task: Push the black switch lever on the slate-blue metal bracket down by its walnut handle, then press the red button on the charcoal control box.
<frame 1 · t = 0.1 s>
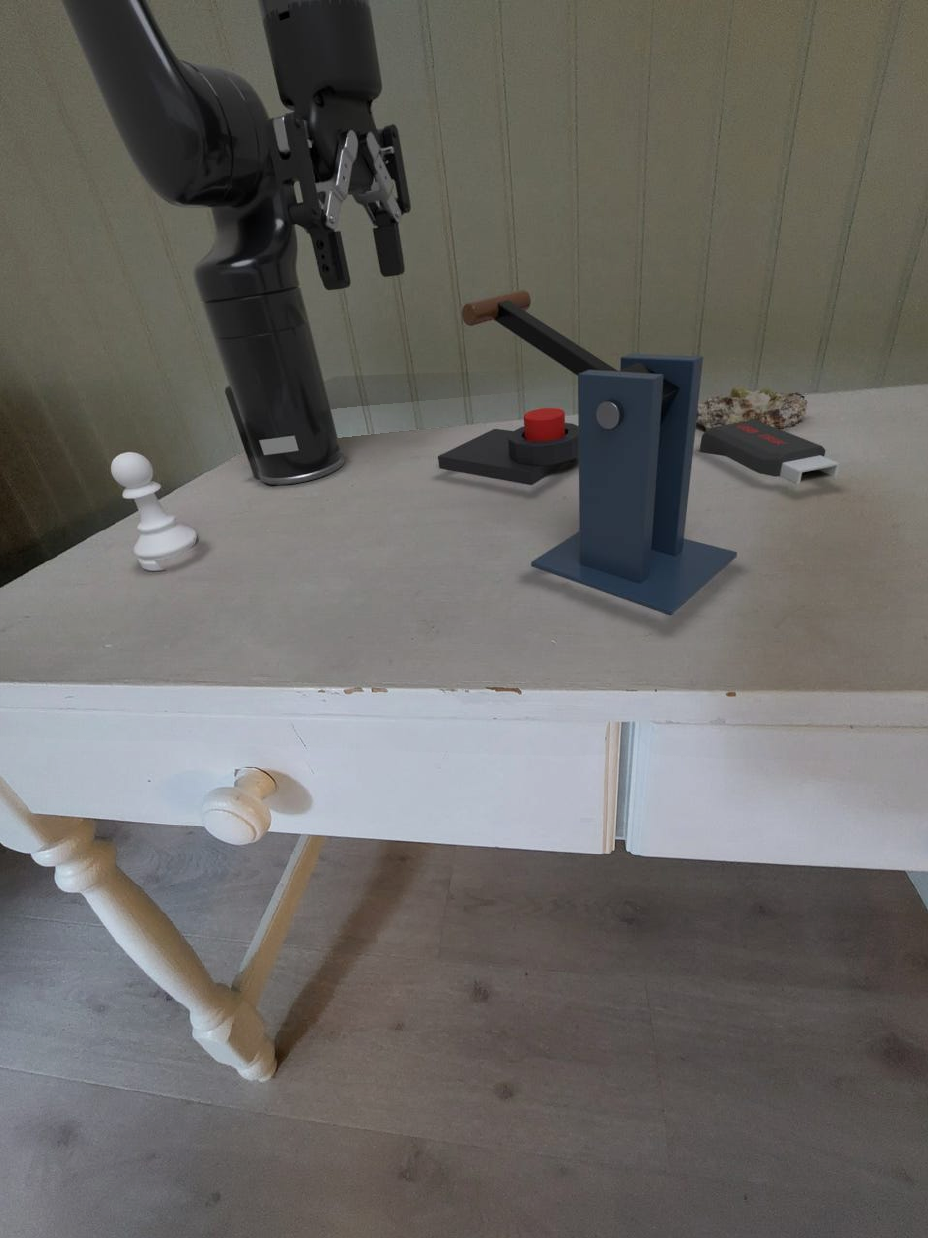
hand: (367, 281, 48), 17 cm above the table, tool pointing down, fingers open, 8 cm apart
mineral rock: (748, 426, 58), on the table
switch lever: (569, 354, 33), point 13 cm above the table, hinge at 25.0°
control box: (512, 469, 55), on the table
usb drive: (764, 470, 48), on the table
chess pawn: (173, 559, 48), on the table
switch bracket: (630, 574, 37), on the table
red button: (544, 425, 50), point 5 cm above the table, slide at 0.2 cm
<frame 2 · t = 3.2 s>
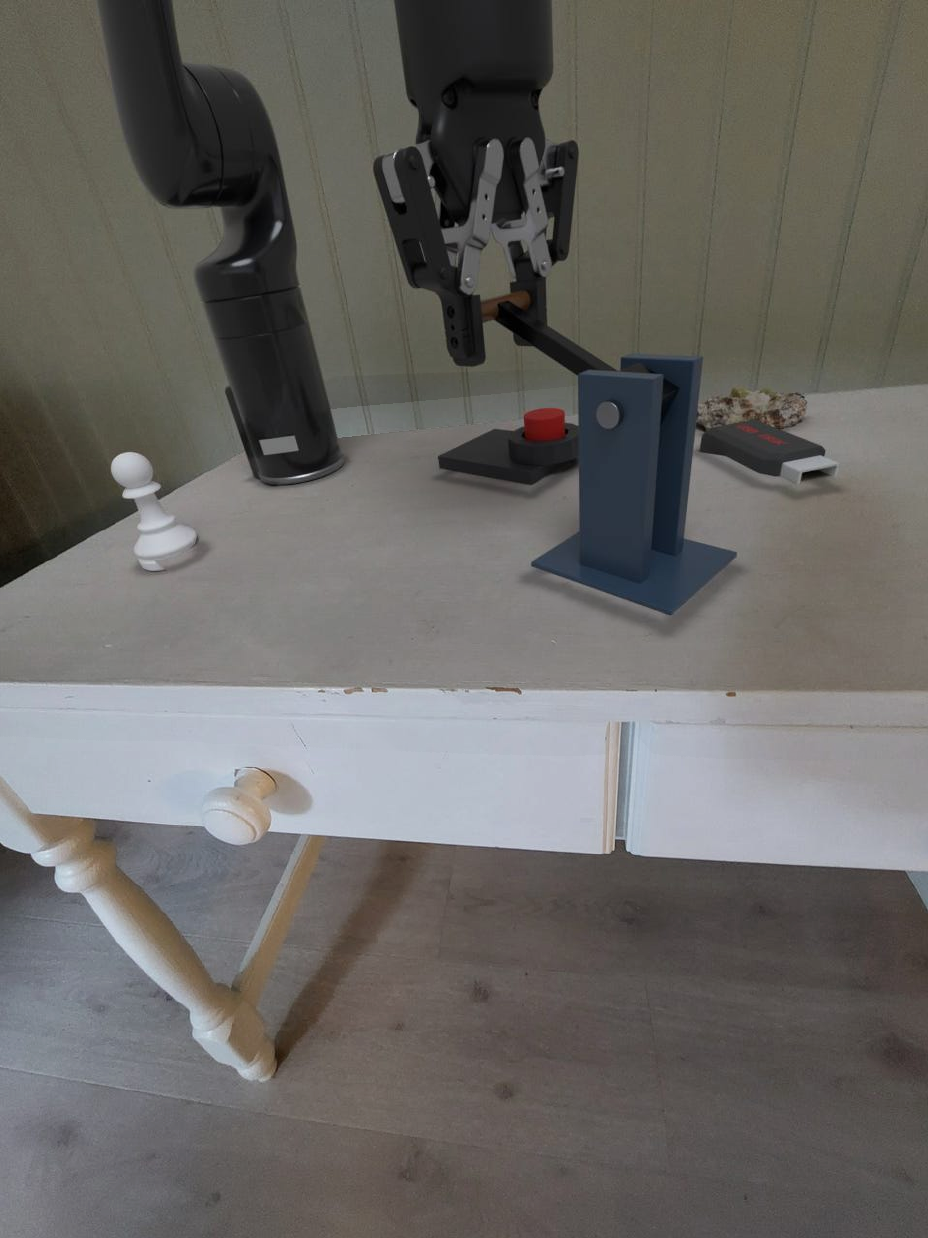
hand: (500, 353, 36), 13 cm above the table, tool pointing down, fingers closed on switch lever, 5 cm apart
switch lever: (569, 354, 33), point 13 cm above the table, hinge at 24.9°, touching gripper
everything else where it was.
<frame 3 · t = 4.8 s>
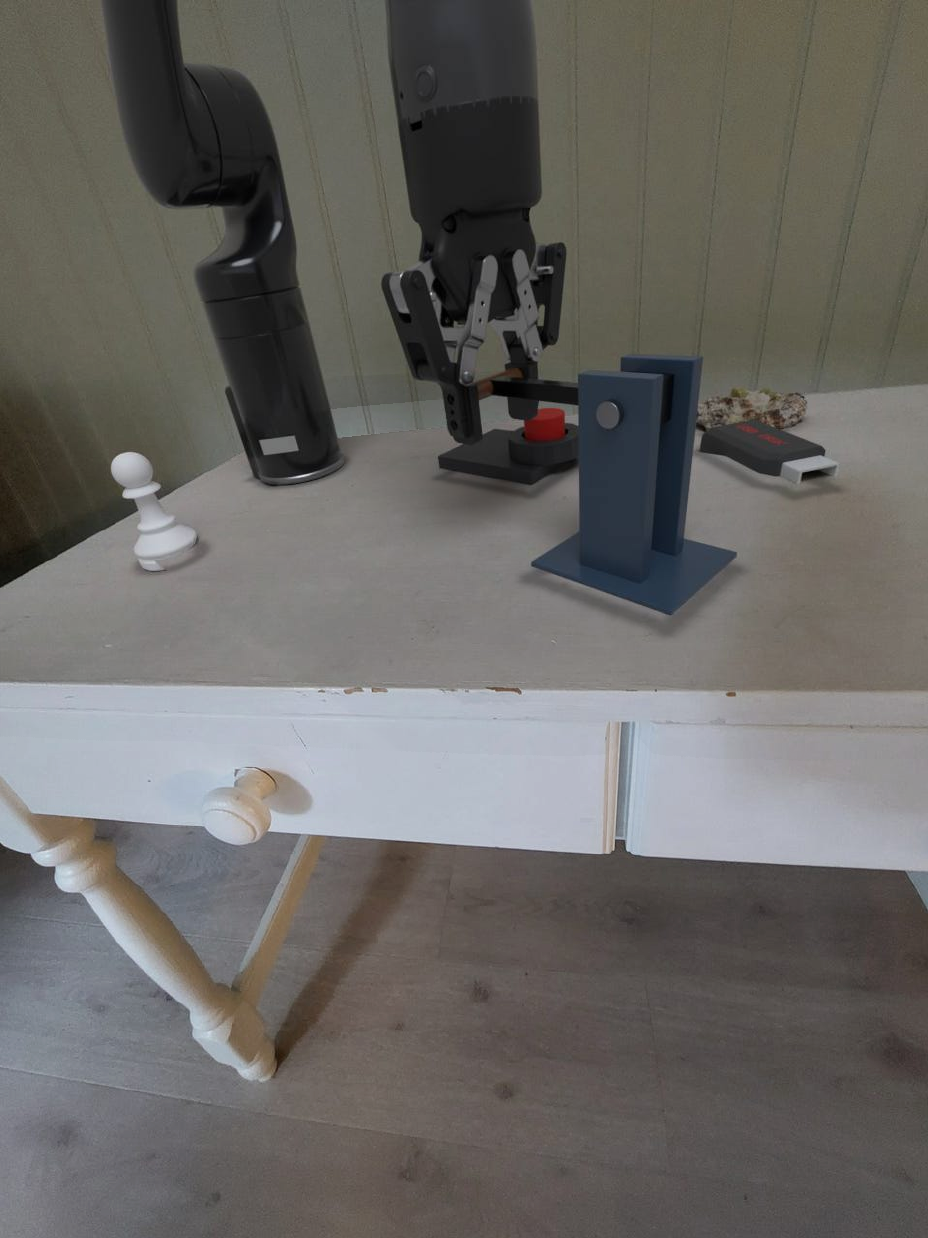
hand: (496, 428, 39), 8 cm above the table, tool pointing down, fingers closed on switch lever, 5 cm apart
switch lever: (563, 392, 34), point 11 cm above the table, hinge at 0.2°, touching gripper
everything else where it was.
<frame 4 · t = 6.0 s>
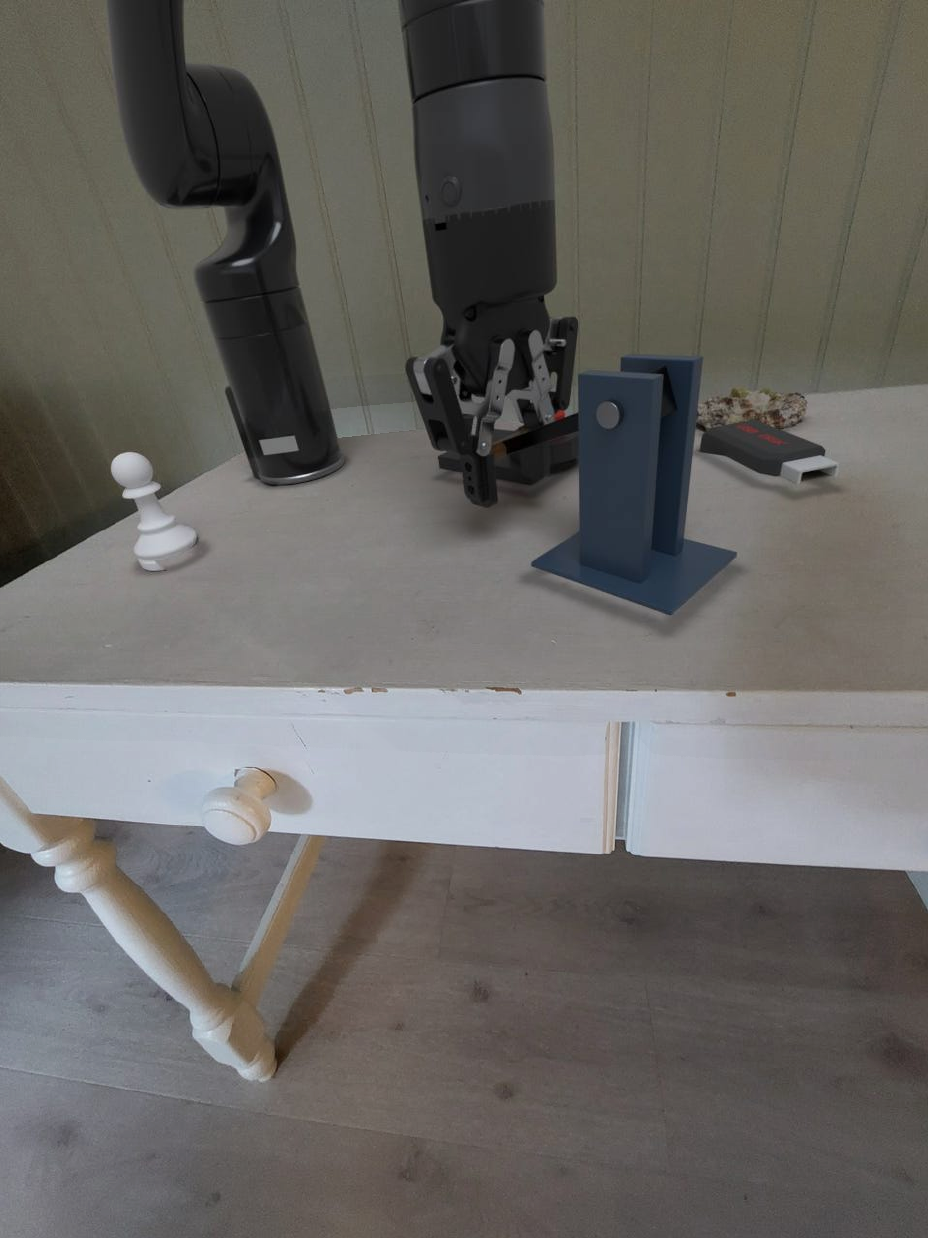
hand: (510, 489, 41), 4 cm above the table, tool pointing down, fingers closed on switch lever, 5 cm apart
switch lever: (568, 424, 35), point 9 cm above the table, hinge at -21.4°, touching gripper
everything else where it was.
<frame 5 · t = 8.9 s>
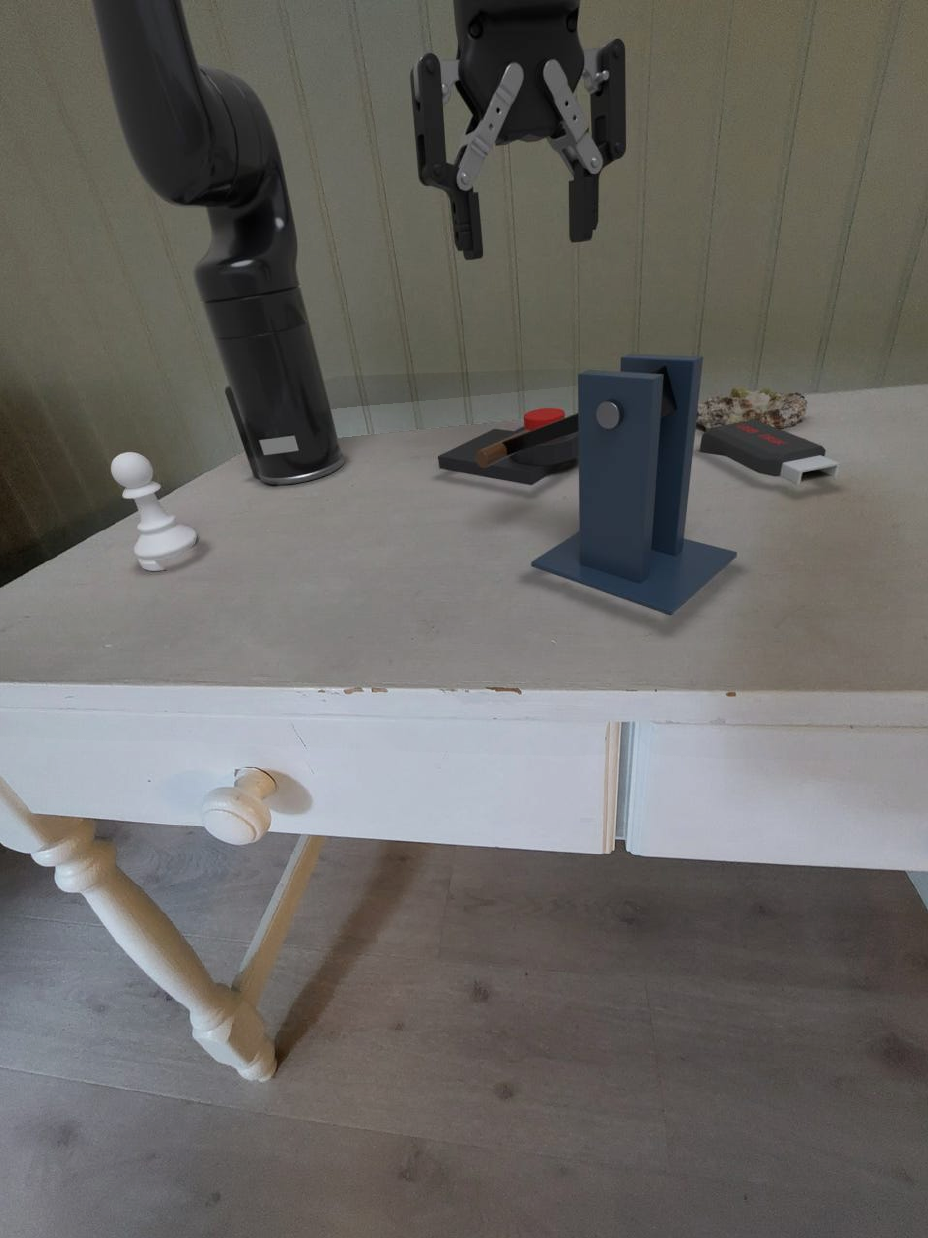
hand: (528, 250, 41), 18 cm above the table, tool pointing down, fingers open, 8 cm apart
switch lever: (568, 425, 35), point 9 cm above the table, hinge at -21.8°
everything else where it was.
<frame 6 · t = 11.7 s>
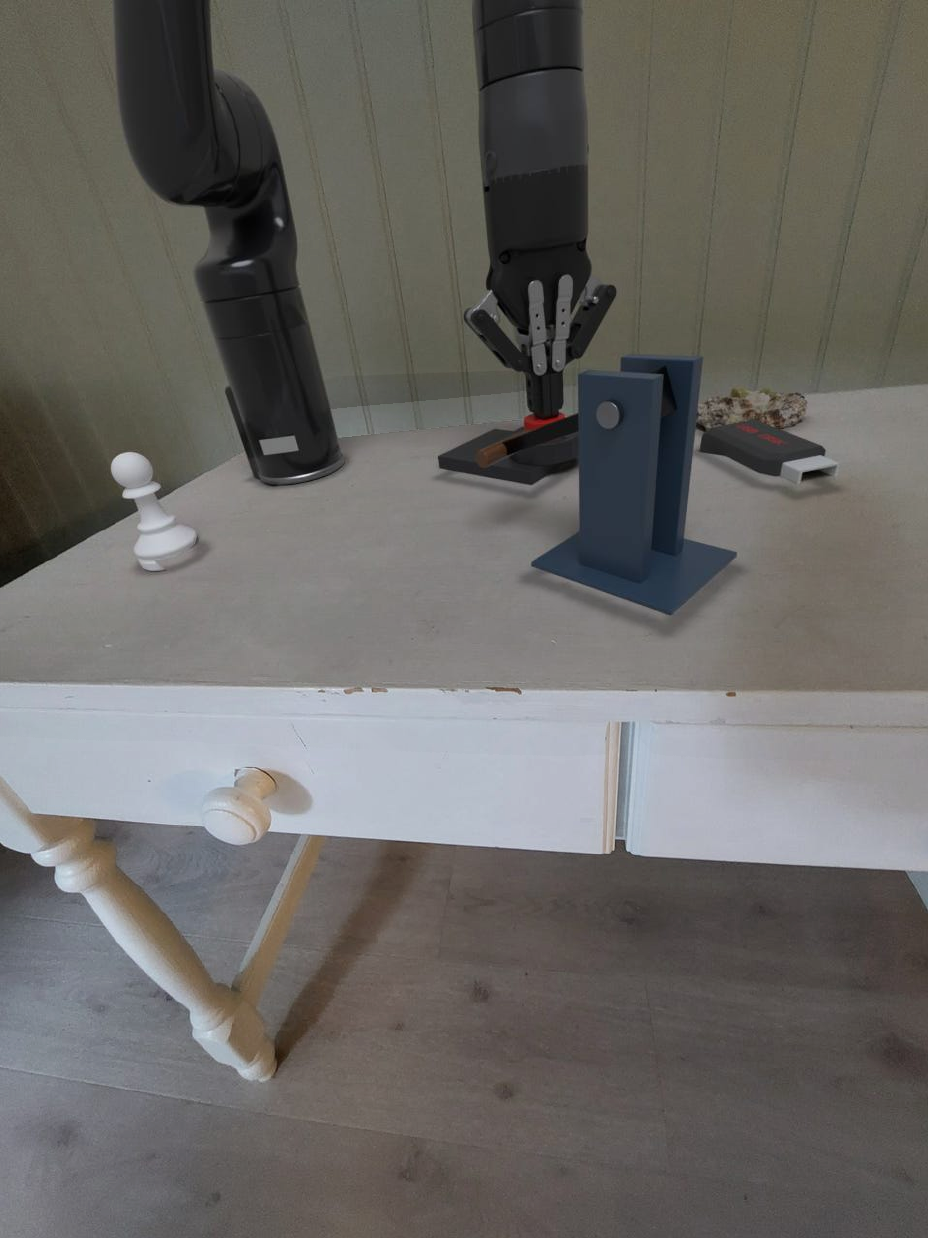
hand: (545, 416, 50), 5 cm above the table, tool pointing down, fingers closed
red button: (544, 428, 51), point 4 cm above the table, slide at -0.1 cm, touching gripper
everything else where it was.
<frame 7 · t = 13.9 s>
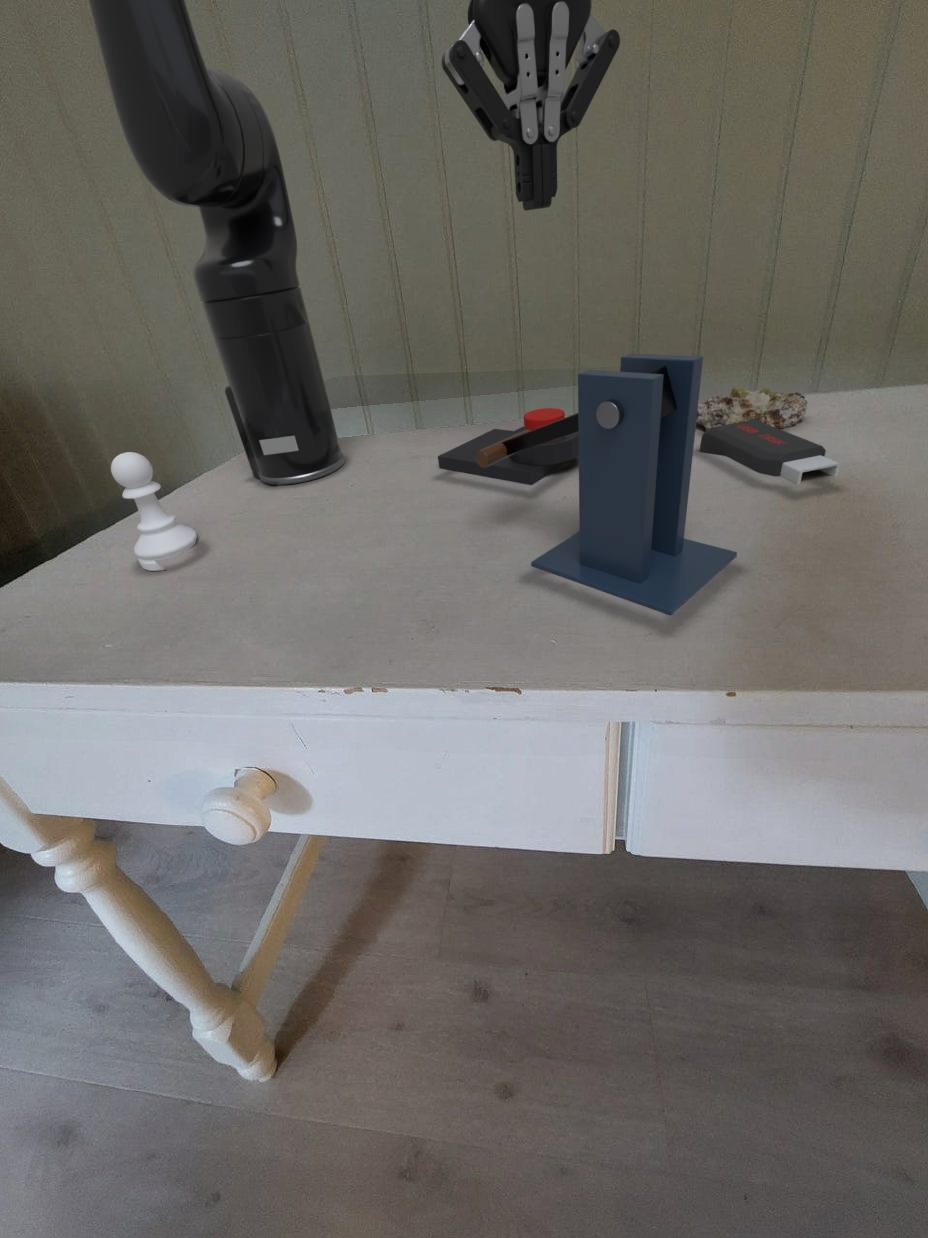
hand: (536, 208, 44), 20 cm above the table, tool pointing down, fingers closed
red button: (544, 425, 50), point 5 cm above the table, slide at 0.1 cm
everything else where it was.
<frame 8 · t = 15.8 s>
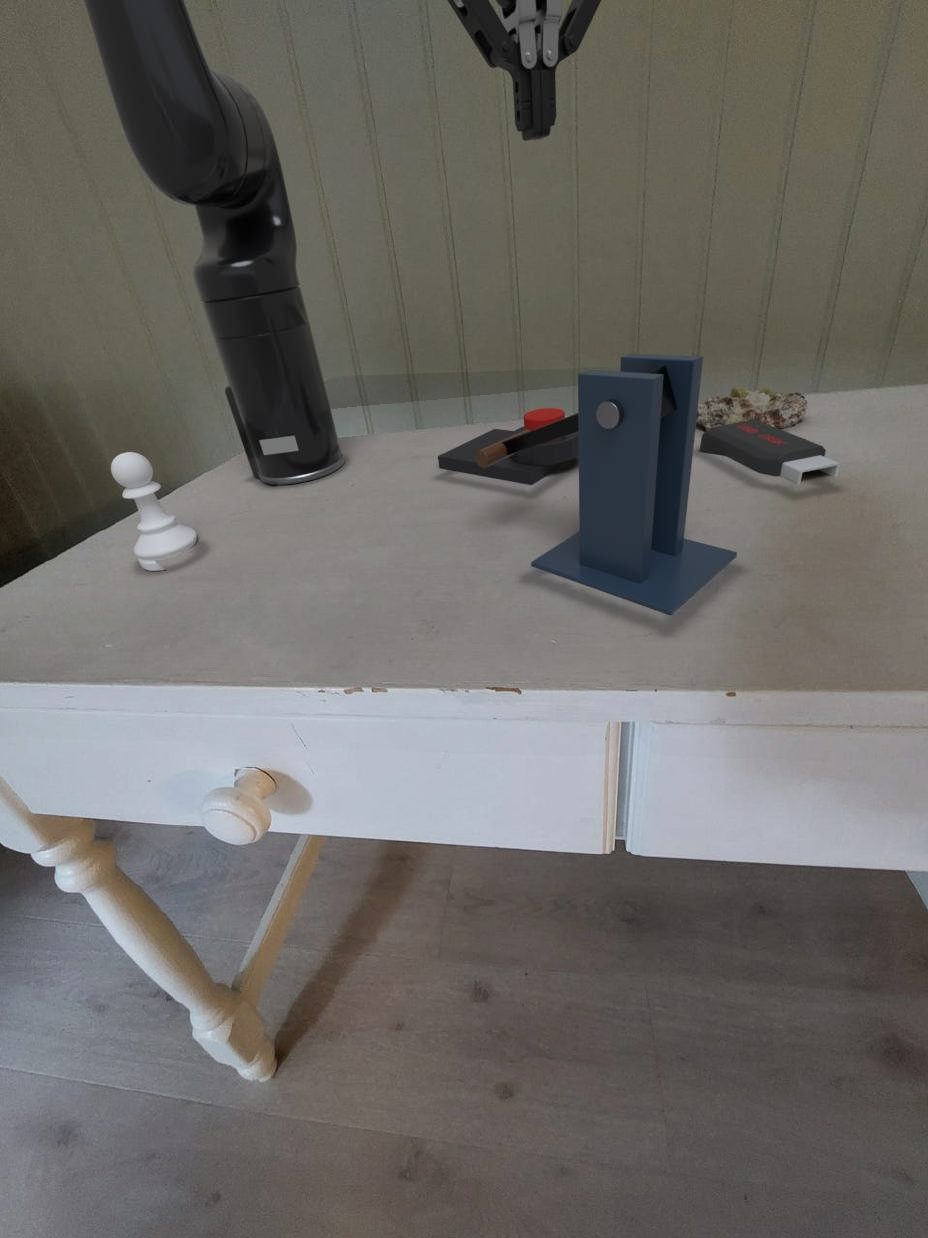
hand: (535, 137, 44), 25 cm above the table, tool pointing down, fingers closed
nothing on the table moved.
at the end: switch lever at -22° (first picture: +25°); red button pushed in 1.1 cm at the most during the clip, back to where it started at the end; red button slide at 0.1 cm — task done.
